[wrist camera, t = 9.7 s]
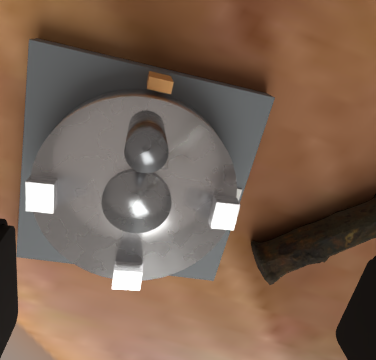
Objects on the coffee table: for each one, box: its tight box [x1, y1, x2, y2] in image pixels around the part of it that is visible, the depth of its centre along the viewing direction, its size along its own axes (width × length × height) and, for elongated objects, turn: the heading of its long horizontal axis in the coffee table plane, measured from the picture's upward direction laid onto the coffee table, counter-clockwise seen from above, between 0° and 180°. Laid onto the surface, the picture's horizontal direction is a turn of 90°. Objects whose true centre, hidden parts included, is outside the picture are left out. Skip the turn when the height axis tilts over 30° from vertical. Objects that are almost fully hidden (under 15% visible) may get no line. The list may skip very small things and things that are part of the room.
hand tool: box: [251, 194, 376, 285], centre depth 33 cm, size 19×4×5 cm, turn 110°
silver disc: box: [25, 89, 240, 291], centre depth 24 cm, size 15×15×8 cm
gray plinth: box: [16, 38, 275, 281], centre depth 28 cm, size 18×18×5 cm
